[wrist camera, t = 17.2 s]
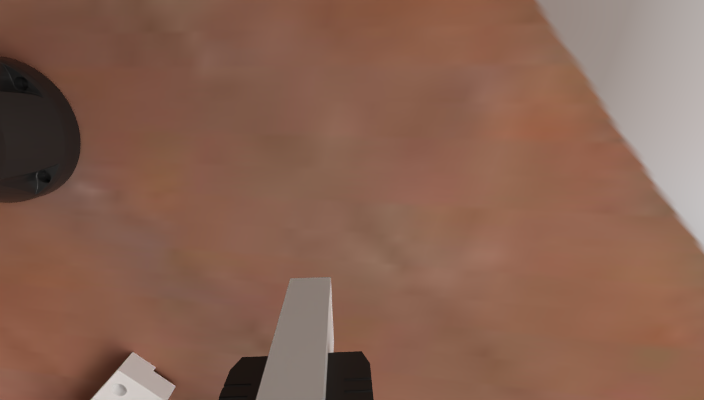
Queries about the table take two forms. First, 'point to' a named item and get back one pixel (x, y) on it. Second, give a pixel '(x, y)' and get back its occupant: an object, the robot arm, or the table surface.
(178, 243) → the table surface
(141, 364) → the bracket
